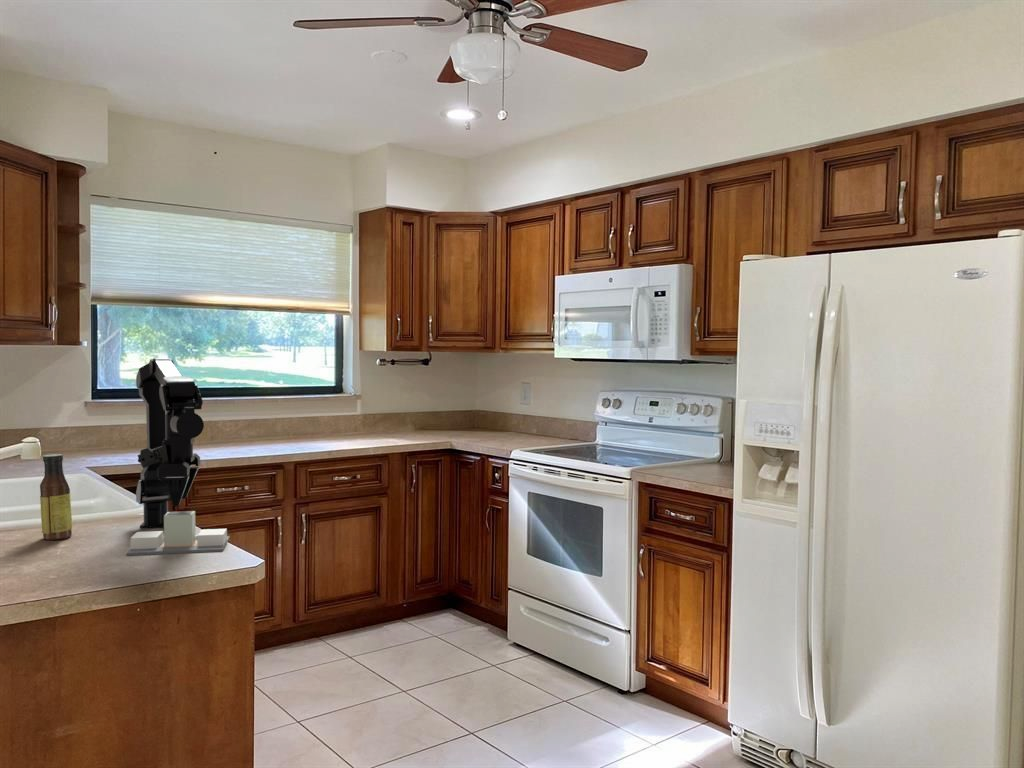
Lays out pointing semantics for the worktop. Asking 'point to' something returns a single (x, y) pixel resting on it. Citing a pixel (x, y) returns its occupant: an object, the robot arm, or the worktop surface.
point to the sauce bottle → (55, 500)
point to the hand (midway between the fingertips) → (179, 502)
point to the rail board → (155, 545)
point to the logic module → (179, 528)
